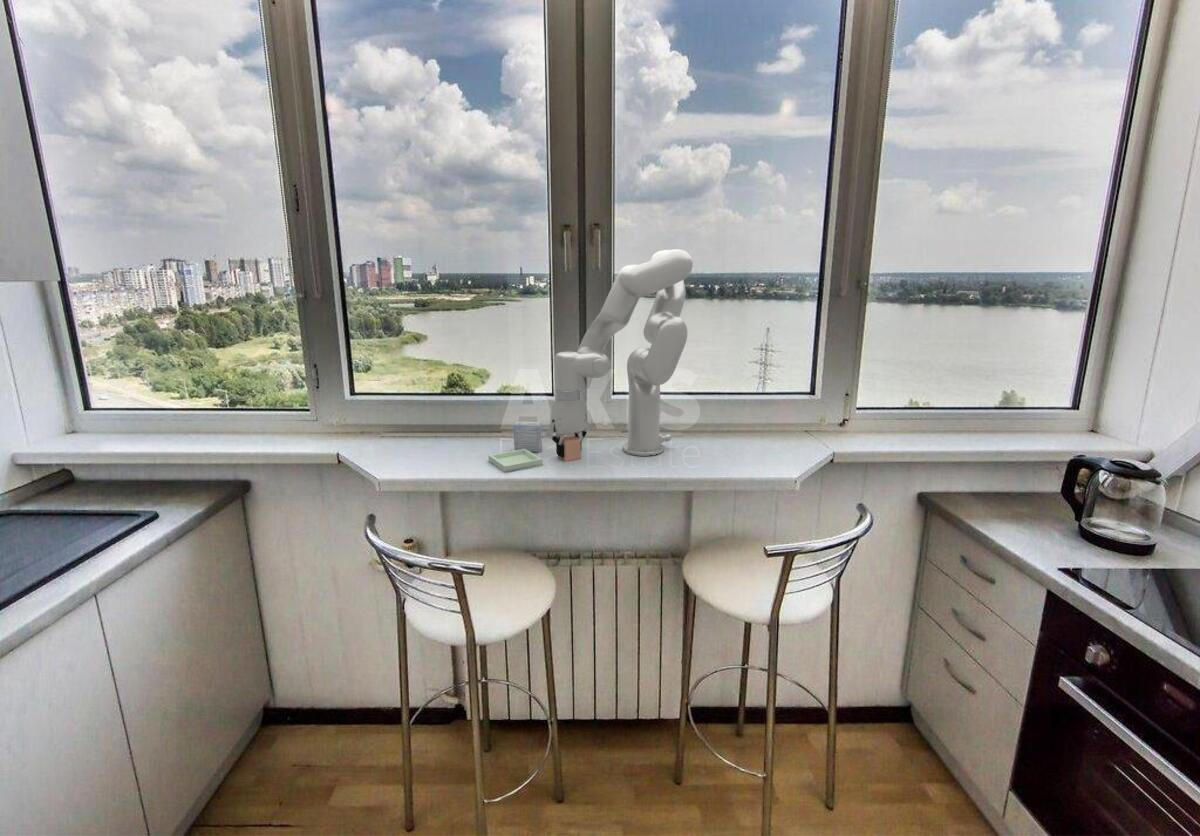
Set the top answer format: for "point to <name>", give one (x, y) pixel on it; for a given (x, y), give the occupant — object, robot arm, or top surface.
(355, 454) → the top surface
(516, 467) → the tray
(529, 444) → the medicine box
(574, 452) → the terracotta block
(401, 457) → the top surface
